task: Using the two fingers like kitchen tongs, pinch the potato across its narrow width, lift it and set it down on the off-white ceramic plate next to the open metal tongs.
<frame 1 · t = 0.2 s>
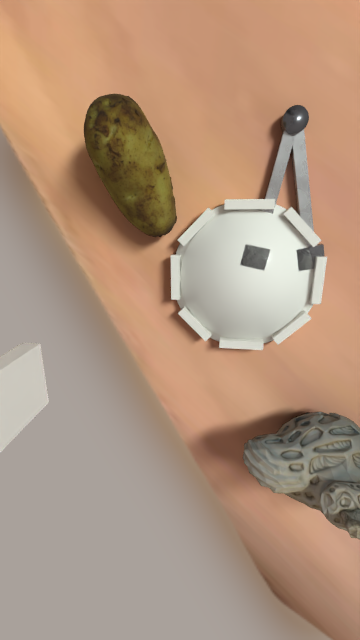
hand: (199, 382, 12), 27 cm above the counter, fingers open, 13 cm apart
open tongs prop: (286, 194, 34), on the counter
plate: (244, 276, 38), on the counter
teapot: (318, 433, 43), on the counter
potato: (142, 178, 36), on the counter
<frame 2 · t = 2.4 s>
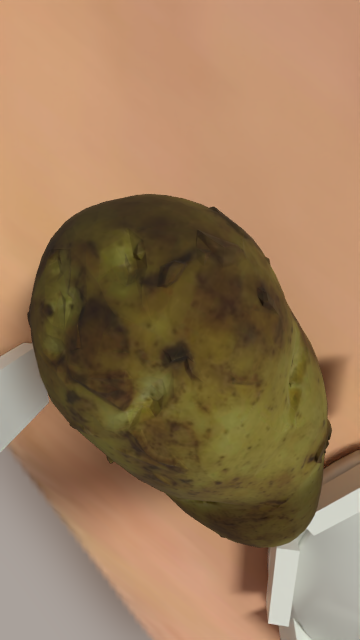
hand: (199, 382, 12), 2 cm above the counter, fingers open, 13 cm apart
potato: (205, 355, 14), on the counter
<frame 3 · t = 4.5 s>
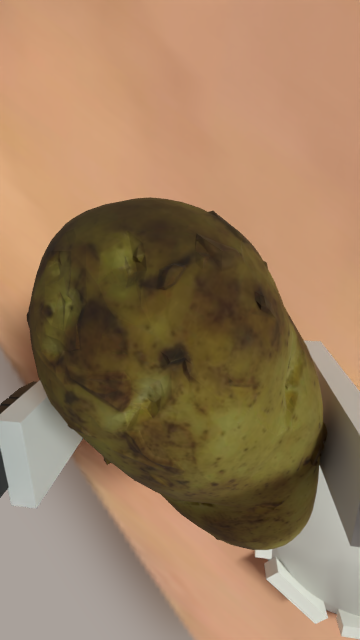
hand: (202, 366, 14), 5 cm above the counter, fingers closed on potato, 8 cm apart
potato: (203, 358, 14), point 4 cm above the counter, touching gripper
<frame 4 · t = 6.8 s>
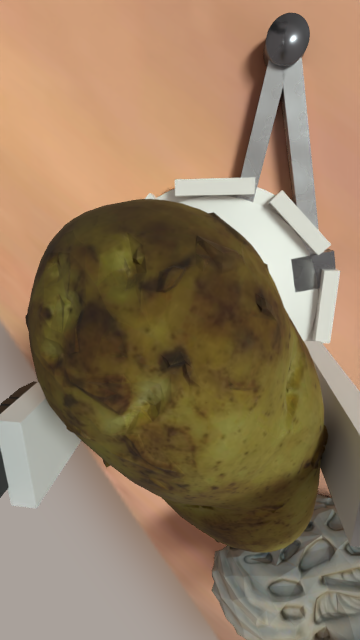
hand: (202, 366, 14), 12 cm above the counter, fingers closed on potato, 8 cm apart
open tongs prop: (274, 171, 22), on the counter
plate: (212, 299, 25), on the counter
teapot: (325, 518, 30), on the counter
potato: (203, 359, 14), point 11 cm above the counter, touching gripper
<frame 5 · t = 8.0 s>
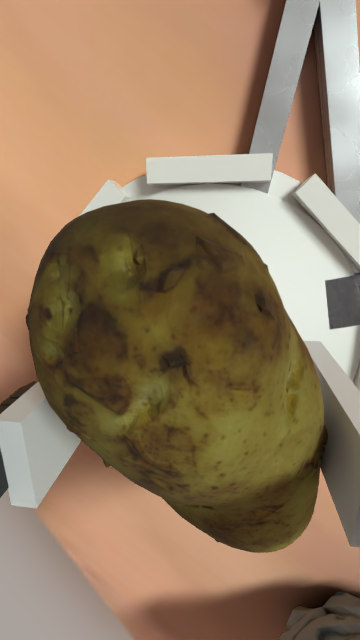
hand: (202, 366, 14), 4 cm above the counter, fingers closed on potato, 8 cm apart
open tongs prop: (300, 147, 14), on the counter
plate: (207, 334, 17), on the counter
teapot: (358, 619, 22), on the counter
potato: (203, 359, 14), point 3 cm above the counter, touching gripper
when the fingers open (3 cm above the counter, at t = 9.1 s): potato drops 1 cm, resting on open tongs prop, plate.
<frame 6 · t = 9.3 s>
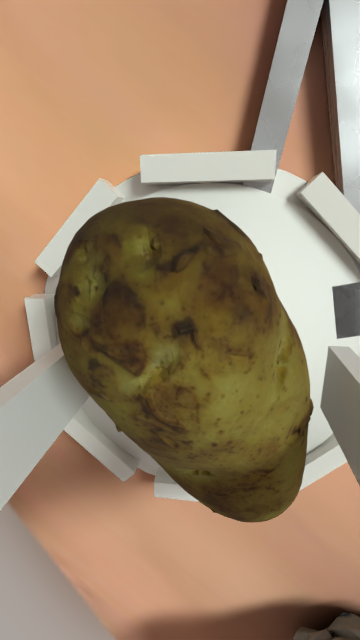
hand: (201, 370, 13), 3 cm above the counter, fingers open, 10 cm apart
open tongs prop: (306, 144, 13), on the counter
plate: (205, 343, 16), on the counter
potato: (203, 348, 15), point 1 cm above the counter, touching open tongs prop, plate
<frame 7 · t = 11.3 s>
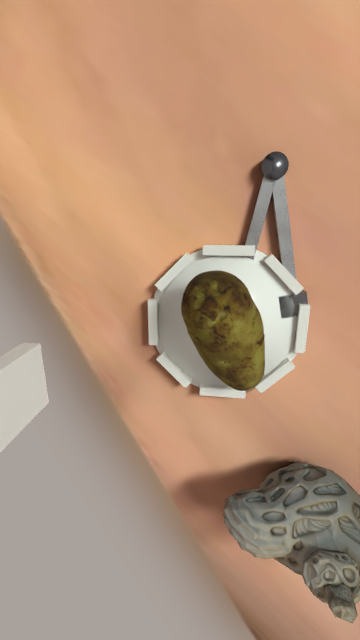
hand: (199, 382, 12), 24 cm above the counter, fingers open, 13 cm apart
open tongs prop: (267, 240, 33), on the counter
plate: (225, 321, 36), on the counter
teapot: (305, 482, 40), on the counter
potato: (224, 323, 35), point 1 cm above the counter, touching open tongs prop, plate
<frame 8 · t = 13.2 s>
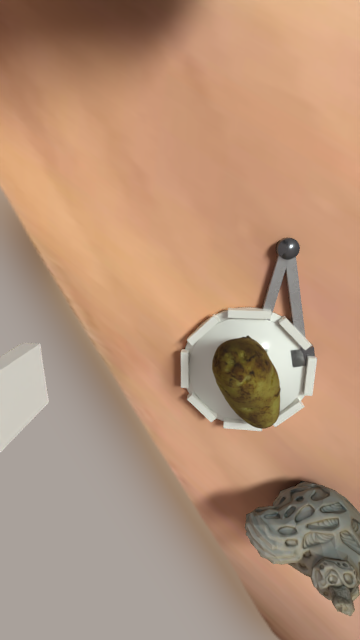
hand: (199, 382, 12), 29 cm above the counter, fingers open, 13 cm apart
open tongs prop: (281, 303, 40), on the counter
plate: (245, 367, 43), on the counter
teapot: (312, 497, 48), on the counter
potato: (245, 370, 42), point 1 cm above the counter, touching open tongs prop, plate
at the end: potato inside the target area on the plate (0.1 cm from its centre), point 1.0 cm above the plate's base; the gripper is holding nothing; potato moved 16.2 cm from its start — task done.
